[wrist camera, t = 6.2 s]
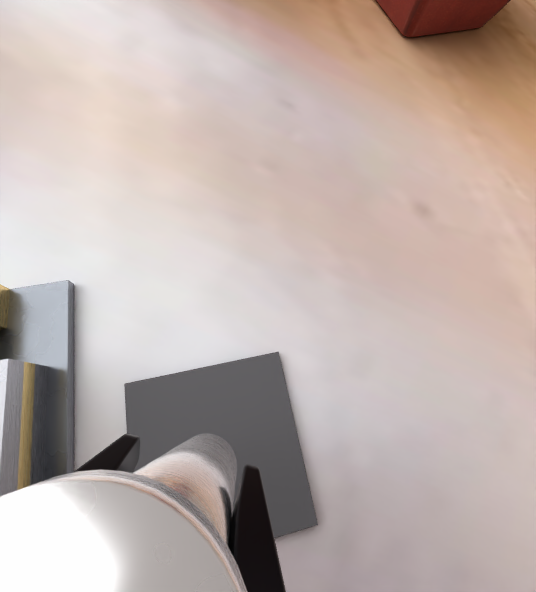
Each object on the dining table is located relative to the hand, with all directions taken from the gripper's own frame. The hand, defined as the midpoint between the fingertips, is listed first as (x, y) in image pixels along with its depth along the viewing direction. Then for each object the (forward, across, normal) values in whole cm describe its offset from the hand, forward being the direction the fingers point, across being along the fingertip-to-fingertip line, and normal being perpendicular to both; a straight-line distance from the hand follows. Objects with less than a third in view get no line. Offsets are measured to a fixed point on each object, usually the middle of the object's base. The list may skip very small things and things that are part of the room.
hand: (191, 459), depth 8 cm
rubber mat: (+8, 0, +10) cm, 13 cm away
